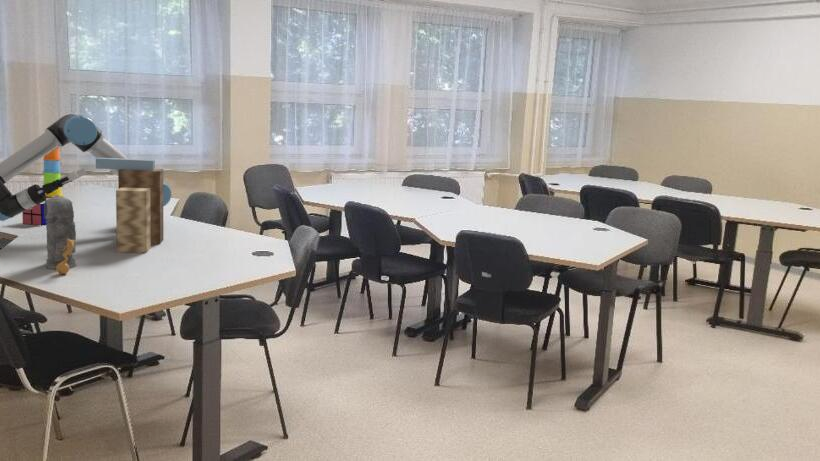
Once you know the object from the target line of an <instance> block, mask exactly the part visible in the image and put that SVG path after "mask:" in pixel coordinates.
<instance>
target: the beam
mask: <svg viewBox="0 0 820 461" xmlns="http://www.w3.org/2000/svg"><path fill="white" fill-rule="evenodd" d="M155 163H156V160H155V159H140V158H128V159H118V158H96V157H95V169H104V170H110V169H123V170H150V171H153V170H155V169H156V167H155Z"/></svg>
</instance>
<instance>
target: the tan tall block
mask: <svg viewBox="0 0 820 461" xmlns="http://www.w3.org/2000/svg"><path fill="white" fill-rule="evenodd" d="M115 210H116V211H115V215H116V216H115V217H116V219H115V220H116V222H115V223H116V225H115V226H116V227H115V228H116V253H142V252H147V253H148V252H149V251H150V249H151V247H152V244H151V225H150V188H119V189H116V190H115Z"/></svg>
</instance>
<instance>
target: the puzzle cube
mask: <svg viewBox="0 0 820 461" xmlns="http://www.w3.org/2000/svg"><path fill="white" fill-rule="evenodd" d="M44 207H45V201H44V202H42V203H40V204H37V205H35V206H33V207H32V209H31V210H30V208H29V209H28V210H26V211H23V212H22V213H21V214H22V224H23V225H28V226H30V225H31V226H38V225H41V227H43V226H42V225H44V226H46V220H47V219H45V217H44Z"/></svg>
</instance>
